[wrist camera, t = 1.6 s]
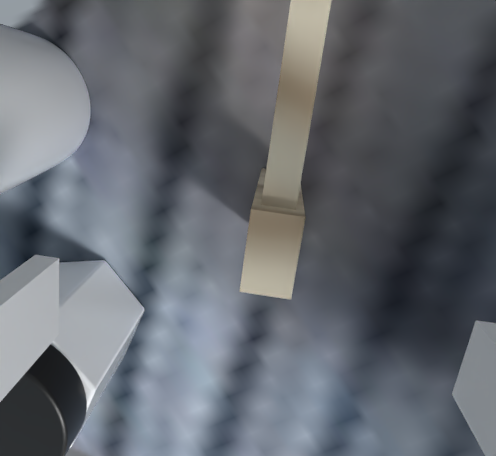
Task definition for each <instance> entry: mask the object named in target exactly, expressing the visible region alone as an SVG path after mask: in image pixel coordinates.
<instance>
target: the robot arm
mask: <svg viewBox="0 0 496 456" xmlns="http://www.w3.org/2000/svg"><path fill="white" fill-rule="evenodd" d="M58 335H59V258H54V257H48V256H41V255H34V256H33V257H32V258H30V259H29V260H27V261H26V262H25V263H23V264H22V265H20V266H19V267H18V268H16V269H15V270H14V271H12V272H11V273H9V274H8V275H7V276H5V277H4V278H2V279H1V280H0V402H1V401H2V400H3V398H4V397H5V396H6V395H7V394H8V393H9V391H10V390H11V389H12V388H13V387H14V386H15V385H16V383H17V382H18V381H19V380H20V379H21V378H22V376H23V375H24V374H25V373H26V372H27V371H28V370H29V368H30V367H31V366H32V365H33V364H34V363H35V361H36V360H37V359H38V358H39V357H40V356H41V355H42V353H43V352H44V351H45V350H46V349H47V348H48V346H49V345H50V344H51V343H52V342H53V341H54V339H55V338H56V337H57V336H58ZM452 395H453V397H454V399H455V401H456V403H457V405H458V406H459V408H460V410H461V412H462V414H463V416H464V418H465V419H466V421H467V423H468V425H469V427H470V429H471V430H472V432H473V434H474V436H475V438H476V440H477V442H478V443H479V445H480V447H481V449H482V451H483V453H484V454H485V456H496V323H491V322H484V321H477V320H476V321H475V324H474V327H473V331H472V334H471V337H470V340H469V343H468V346H467V349H466V352H465V355H464V358H463V361H462V365H461V368H460V371H459V374H458V377H457V380H456V383H455V386H454V389H453V392H452Z"/></svg>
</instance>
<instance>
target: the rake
mask: <svg viewBox="0 0 496 456" xmlns="http://www.w3.org/2000/svg"><path fill="white" fill-rule="evenodd" d="M331 1H332V0H291V3H290V10H289V16H288V23H287V30H286V37H285V44H284V51H283V58H282V65H281V71H280V78H279V85H278V92H277V99H276V106H275V113H274V120H273V126H272V133H271V140H270V147H269V154H268V161H267V168H266V169H263V168H262V169H261V173H260V177H259V180H258V184H257V188H256V192H255V196H254V199H253V203H252V207H251V212H250V220H249V227H248V234H247V241H246V248H245V256H244V263H243V270H242V277H241V285H240V292H245V293H251V294H258V295H264V296H271V297H277V298H284V299H290V300H291V296H292V291H293V285H294V280H295V274H296V268H297V263H298V257H299V251H300V246H301V240H302V235H303V229H304V223H305V218H306V217H305V210H304V204H303V197H302V191H301V184H300V183H301V177H302V171H303V165H304V159H305V153H306V148H307V142H308V136H309V130H310V124H311V118H312V112H313V106H314V101H315V95H316V89H317V83H318V77H319V71H320V65H321V59H322V54H323V48H324V42H325V36H326V30H327V24H328V18H329V12H330V7H331Z"/></svg>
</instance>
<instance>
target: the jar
mask: <svg viewBox="0 0 496 456" xmlns="http://www.w3.org/2000/svg"><path fill="white" fill-rule="evenodd" d="M143 313H144V307H143V306H142V305H141V304H140V302H139V301H138V300H137V299H136V297H135V296H134V295H133V294H132V293H131V291H130V290H129V289H128V288H127V286H126V285H125V284H124V283H123V281H122V280H121V279H120V278H119V277H118V275H117V274H116V273H115V272H114V270H113V269H112V268H111V267H110V266H109V264H108V263H107V262H106V261H105V260H97V261H79V262H60V263H59V335H58V336H57V337H56V338H55V339H54V341H53V342H52V343H51V344H50V345H49V346H48V348H47V349H46V350H45V351H44V352H43V353H42V355H41V356H40V357H39V358H38V359H37V360H36V361H35V363H34V364H33V365H32V366H31V367H30V368H29V370H28V371H27V372H26V373H25V374H24V375H23V376H22V378H21V379H20V380H19V381H18V382H17V383H16V385H15V386H14V387H13V388H12V389H11V390H10V391H9V393H8V394H7V395H6V396H5V397H4V398H3V400H2V401H1V402H0V456H65V455H66V453H67V451H68V450H69V448H71V447H72V445H73V443H74V442H75V440H76V438H77V437H78V435H79V433H80V431H81V430H82V428H83V426H84V425H85V423H86V421H87V419H88V418H89V416H90V414H91V412H92V411H93V409H94V407H95V406H96V404H97V402H98V400H99V399H100V397H101V395H102V394H103V392H104V390H105V388H106V387H107V385H108V383H109V382H110V380H111V378H112V376H113V375H114V373H115V371H116V369H117V368H118V366H119V364H120V363H121V361H122V359H123V357H124V356H125V353H126V351H127V349H128V346H129V344H130V342H131V340H132V337H133V335H134V333H135V331H136V328H137V326H138V324H139V322H140V319H141V317H142V315H143Z"/></svg>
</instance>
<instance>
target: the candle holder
mask: <svg viewBox="0 0 496 456" xmlns="http://www.w3.org/2000/svg"><path fill="white" fill-rule="evenodd" d="M90 116H91V105H90V97H89V93H88V89H87V86H86V83H85V81H84V79H83V77H82V75H81V73H80V71H79V69H78V68H77V66H76V65H75V64H74V62H73V61H72V60H71V59H70V58H69V57H68V56H67V55H66V54H65V53H64V52H63V51H62V50H61V49H60V48H58V47H57V46H56V45H54V44H52V43H51V42H49V41H47V40H45V39H43V38H41V37H39V36H36V35H33V34H31V33H28V32H25V31H22V30H18V29H15V28H12V27H9V26H5V25H2V24H0V195H1V194H3V193H5V192H7V191H9V190H11V189H13V188H15V187H17V186H19V185H20V184H22V183H24V182H26V181H28V180H30V179H32V178H34V177H36V176H38V175H40V174H42V173H44V172H45V171H47V170H49V169H51V168H53V167H55V166H57V165H58V164H60V163H62V162H63V161H65V160H66V159H68V158H69V157H70V156H71V155H72V154H73V153H74V152H75V151H76V150H77V149H78V148H79V147H80V145H81V144H82V142H83V140H84V138H85V136H86V134H87V131H88V128H89V123H90Z"/></svg>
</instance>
